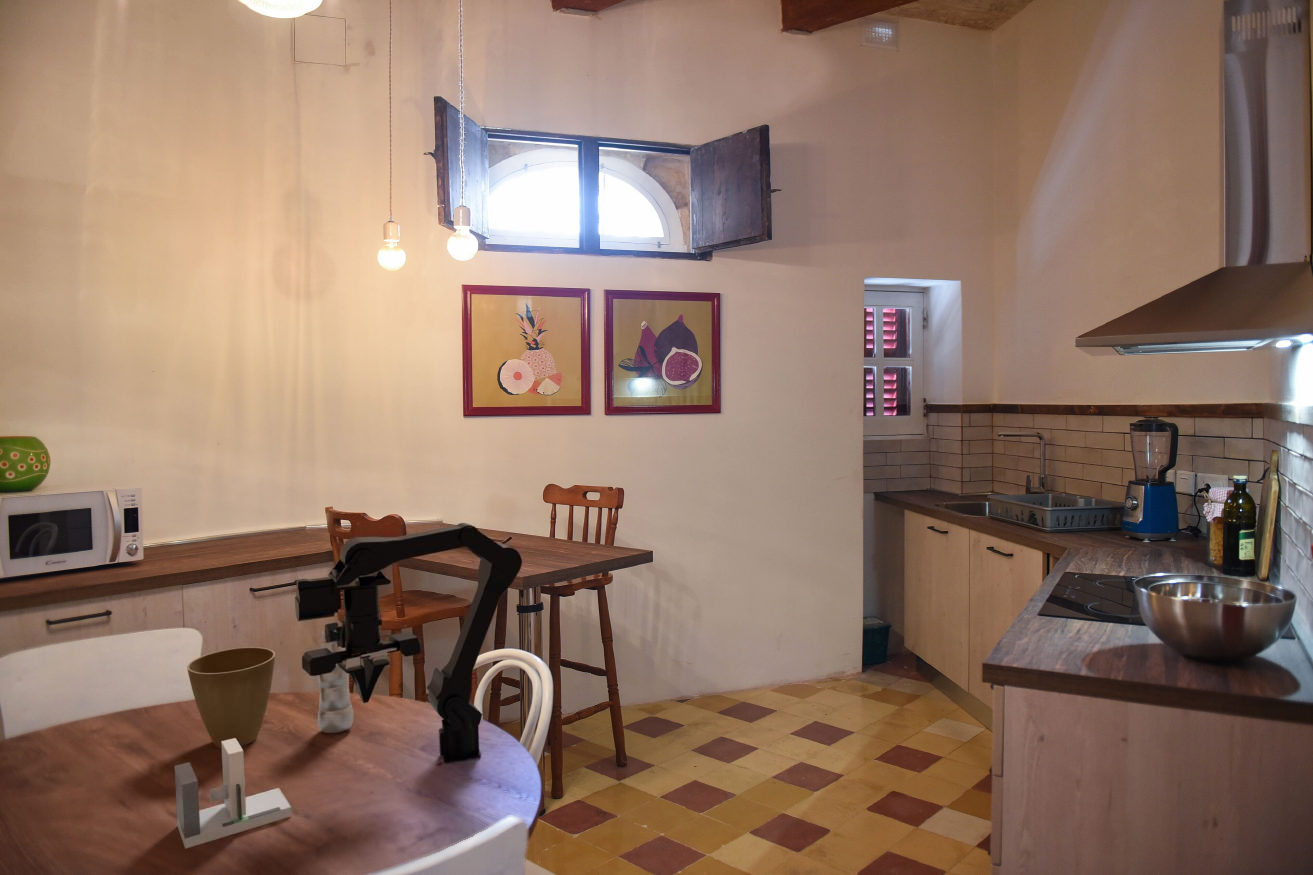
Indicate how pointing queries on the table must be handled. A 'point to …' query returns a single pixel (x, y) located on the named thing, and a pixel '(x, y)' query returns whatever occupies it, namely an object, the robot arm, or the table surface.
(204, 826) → the base
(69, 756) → the table surface
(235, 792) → the cream upright slab
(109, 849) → the table surface
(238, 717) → the plant pot
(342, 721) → the plastic bottle
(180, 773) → the brushed steel plate
